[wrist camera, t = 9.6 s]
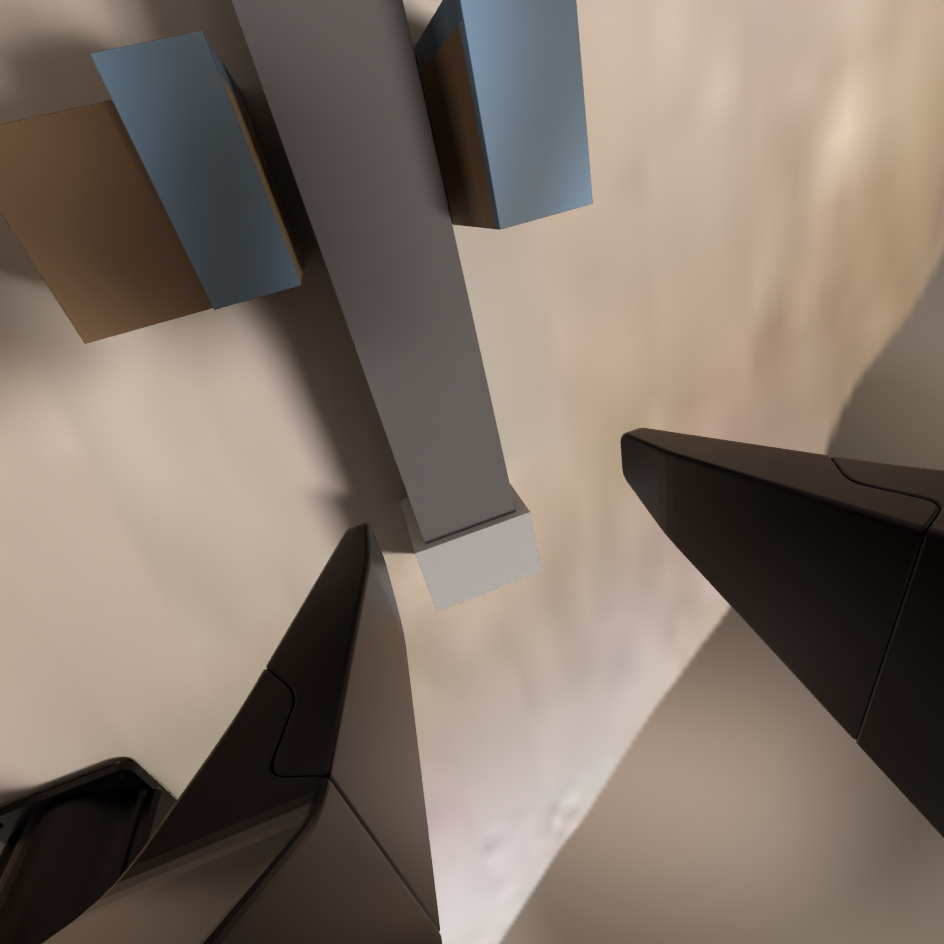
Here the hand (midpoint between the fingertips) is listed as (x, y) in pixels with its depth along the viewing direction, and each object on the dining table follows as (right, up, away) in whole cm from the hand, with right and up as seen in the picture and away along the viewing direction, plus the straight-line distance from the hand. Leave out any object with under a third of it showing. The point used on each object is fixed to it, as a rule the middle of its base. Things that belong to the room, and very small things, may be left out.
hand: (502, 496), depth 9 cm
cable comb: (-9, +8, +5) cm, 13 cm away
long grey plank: (-3, +6, +8) cm, 10 cm away
